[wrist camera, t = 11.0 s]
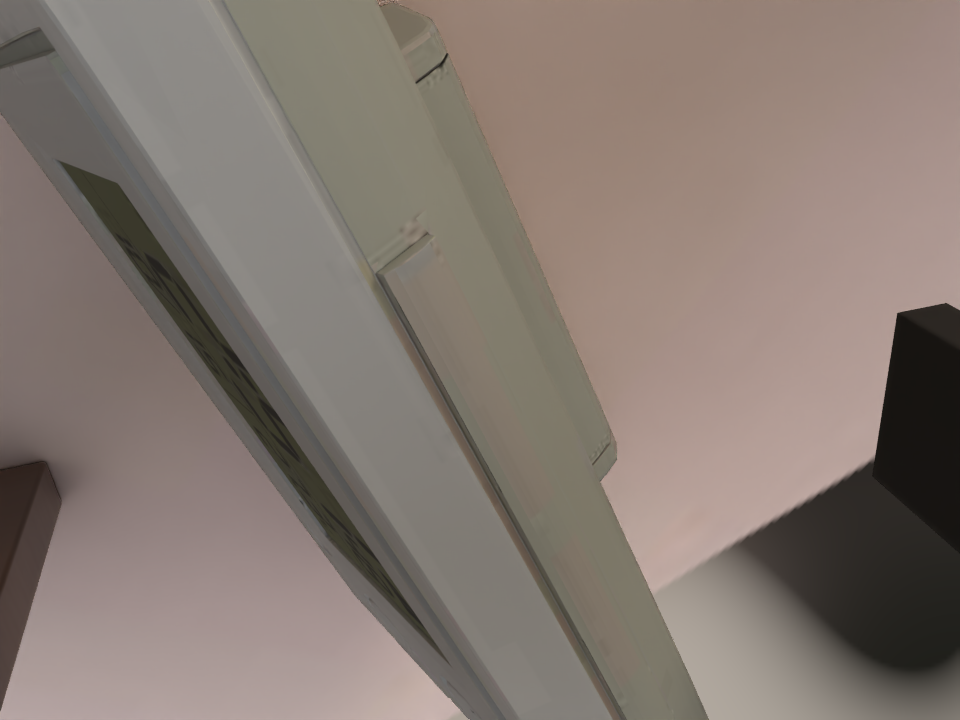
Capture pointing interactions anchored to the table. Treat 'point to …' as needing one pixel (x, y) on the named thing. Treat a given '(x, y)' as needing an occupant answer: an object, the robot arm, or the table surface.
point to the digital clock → (359, 323)
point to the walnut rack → (22, 552)
